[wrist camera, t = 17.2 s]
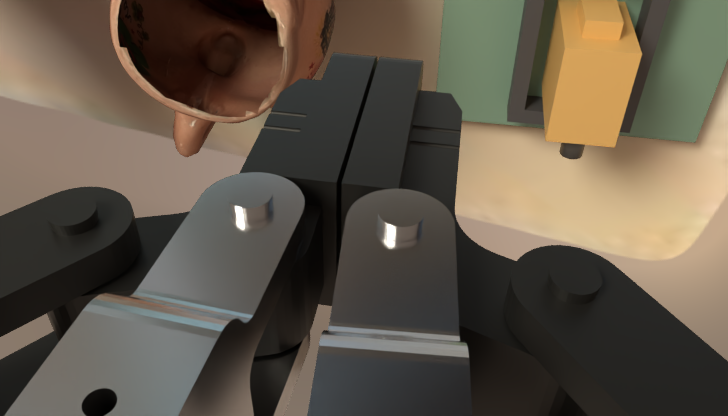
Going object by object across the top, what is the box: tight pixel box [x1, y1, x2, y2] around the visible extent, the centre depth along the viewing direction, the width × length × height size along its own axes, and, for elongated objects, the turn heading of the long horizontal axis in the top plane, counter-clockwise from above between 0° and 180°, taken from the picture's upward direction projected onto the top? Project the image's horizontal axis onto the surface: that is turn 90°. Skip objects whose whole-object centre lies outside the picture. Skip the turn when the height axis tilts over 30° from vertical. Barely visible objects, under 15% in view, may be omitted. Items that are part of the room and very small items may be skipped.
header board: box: [436, 0, 728, 143], centre depth 42 cm, size 18×14×4 cm
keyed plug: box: [541, 0, 642, 159], centre depth 40 cm, size 4×9×7 cm, turn 0°
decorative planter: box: [109, 0, 335, 157], centre depth 39 cm, size 20×12×14 cm, turn 165°
